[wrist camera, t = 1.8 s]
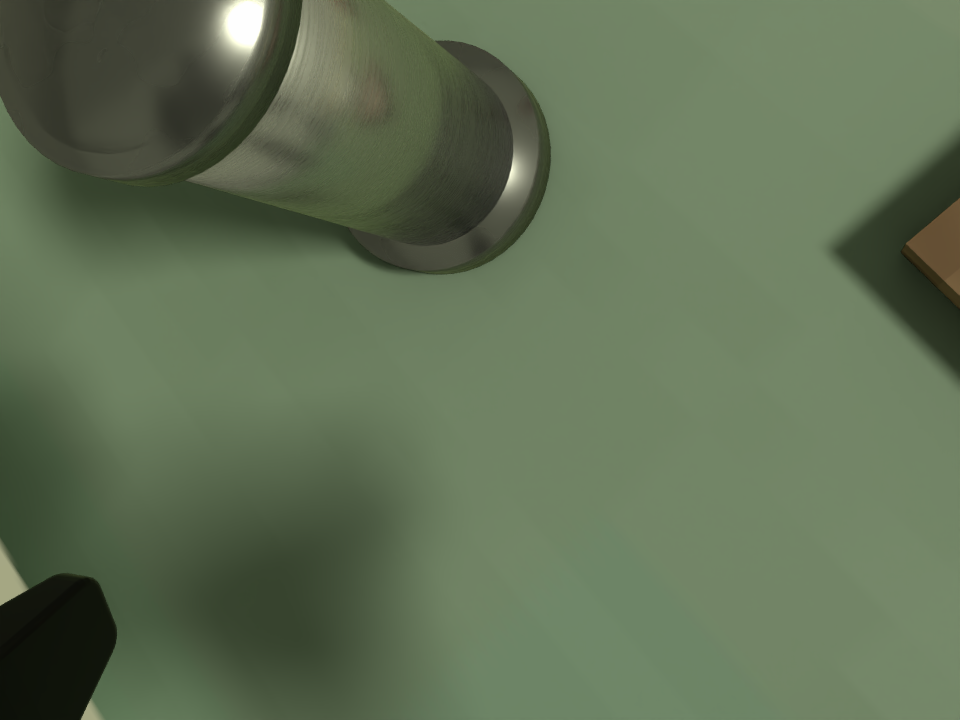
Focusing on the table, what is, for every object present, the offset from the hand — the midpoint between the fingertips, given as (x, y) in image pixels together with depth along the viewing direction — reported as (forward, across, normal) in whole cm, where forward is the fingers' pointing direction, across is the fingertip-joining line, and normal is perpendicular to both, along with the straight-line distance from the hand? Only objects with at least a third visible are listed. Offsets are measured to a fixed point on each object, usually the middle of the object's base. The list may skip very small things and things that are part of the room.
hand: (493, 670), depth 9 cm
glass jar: (+15, +5, 0) cm, 16 cm away
